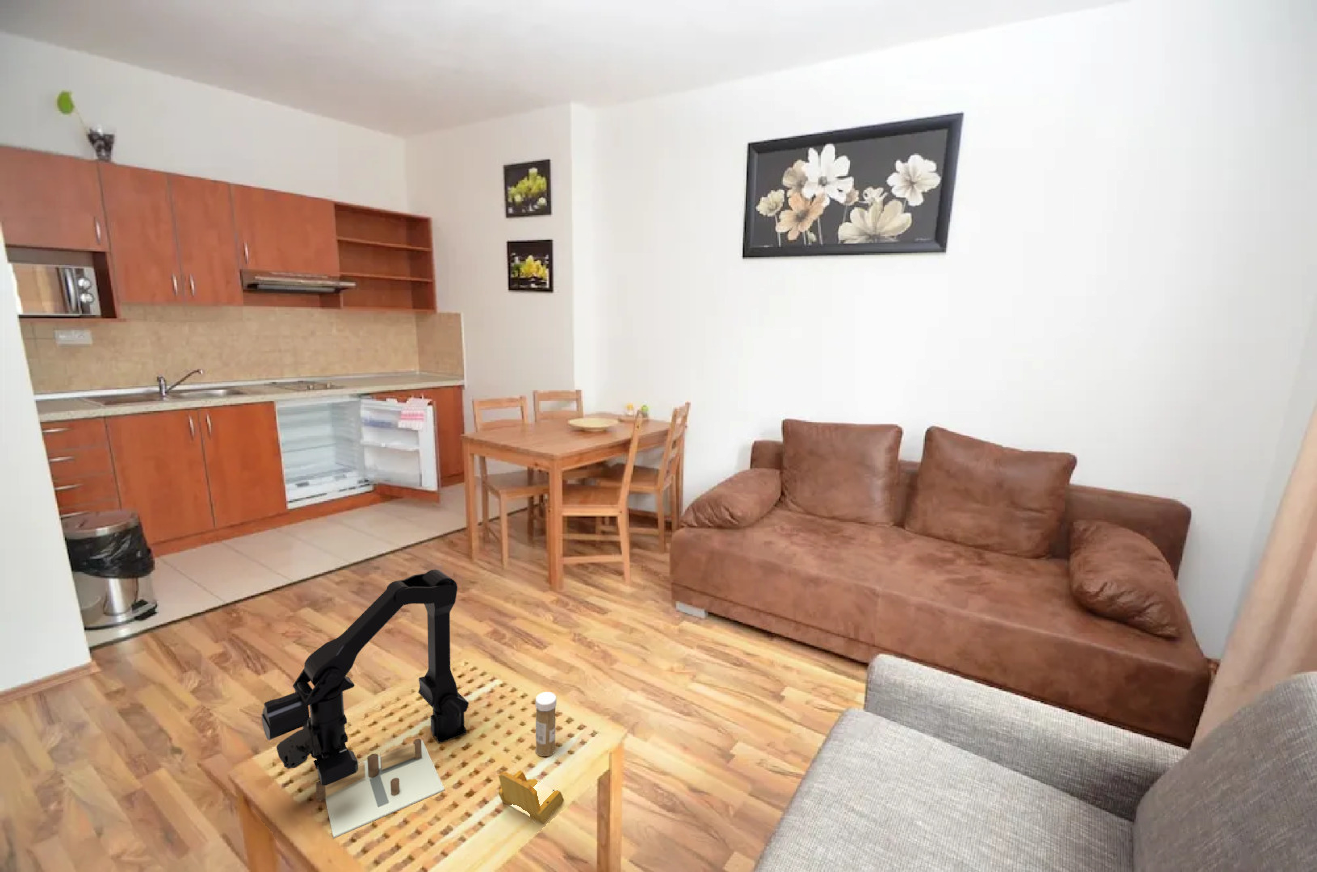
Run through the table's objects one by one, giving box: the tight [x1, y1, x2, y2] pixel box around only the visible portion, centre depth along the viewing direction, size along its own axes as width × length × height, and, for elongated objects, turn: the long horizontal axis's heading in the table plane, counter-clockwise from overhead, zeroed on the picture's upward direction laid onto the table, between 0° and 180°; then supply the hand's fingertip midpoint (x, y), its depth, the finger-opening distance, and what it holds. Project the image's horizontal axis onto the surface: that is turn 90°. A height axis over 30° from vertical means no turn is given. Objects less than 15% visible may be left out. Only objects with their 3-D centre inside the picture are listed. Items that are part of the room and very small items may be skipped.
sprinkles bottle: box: [535, 691, 557, 757], centre depth 128 cm, size 5×5×14 cm
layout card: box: [324, 739, 445, 839], centre depth 117 cm, size 20×17×1 cm
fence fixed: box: [366, 738, 422, 796], centre depth 119 cm, size 11×9×4 cm
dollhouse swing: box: [497, 770, 564, 824], centre depth 114 cm, size 10×10×9 cm
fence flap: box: [315, 761, 365, 801], centre depth 115 cm, size 9×2×3 cm, turn 136°
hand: (331, 781), depth 115 cm, fingers closed
